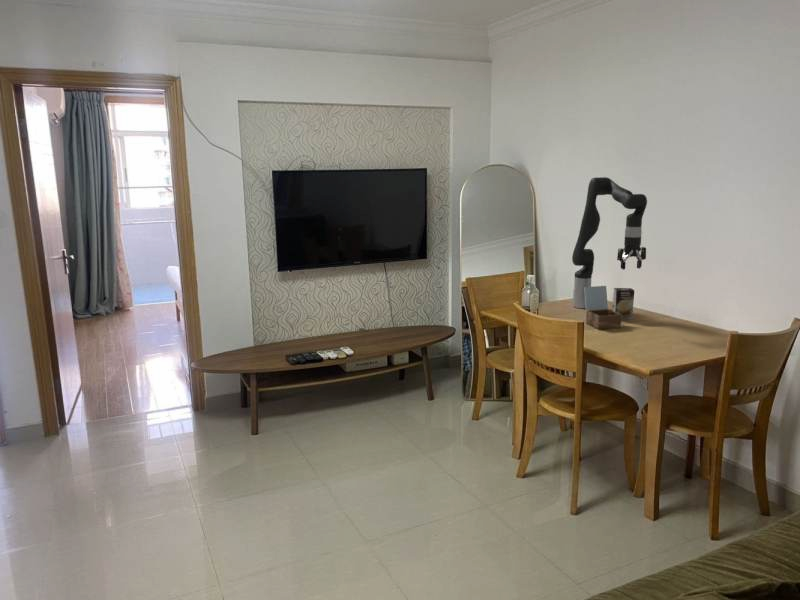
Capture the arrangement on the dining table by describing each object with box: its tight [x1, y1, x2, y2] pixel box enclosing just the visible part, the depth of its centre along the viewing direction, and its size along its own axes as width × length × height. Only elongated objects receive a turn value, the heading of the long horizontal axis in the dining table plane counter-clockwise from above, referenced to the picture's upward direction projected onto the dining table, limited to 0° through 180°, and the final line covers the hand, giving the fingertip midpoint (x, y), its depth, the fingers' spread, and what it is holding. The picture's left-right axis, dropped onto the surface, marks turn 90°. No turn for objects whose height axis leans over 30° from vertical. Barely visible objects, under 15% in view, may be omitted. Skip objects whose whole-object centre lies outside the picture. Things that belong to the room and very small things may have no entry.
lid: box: [584, 285, 609, 312], centre depth 306 cm, size 12×12×1 cm
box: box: [585, 308, 622, 331], centre depth 300 cm, size 12×12×7 cm
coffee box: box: [611, 287, 635, 321], centre depth 312 cm, size 9×6×16 cm
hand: (630, 268), depth 293 cm, fingers open, 8 cm apart
